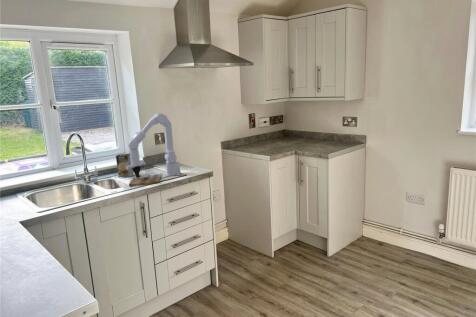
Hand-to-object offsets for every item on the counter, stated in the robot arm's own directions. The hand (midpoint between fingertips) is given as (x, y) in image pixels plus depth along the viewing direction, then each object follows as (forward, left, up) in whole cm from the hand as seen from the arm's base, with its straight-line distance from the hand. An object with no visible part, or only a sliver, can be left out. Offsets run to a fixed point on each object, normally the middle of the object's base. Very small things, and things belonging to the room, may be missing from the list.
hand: (137, 177), depth 241 cm
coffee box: (+11, -20, -3) cm, 23 cm away
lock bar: (-3, 0, -1) cm, 3 cm away
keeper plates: (-6, -2, -2) cm, 6 cm away
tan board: (-6, +1, -3) cm, 7 cm away
